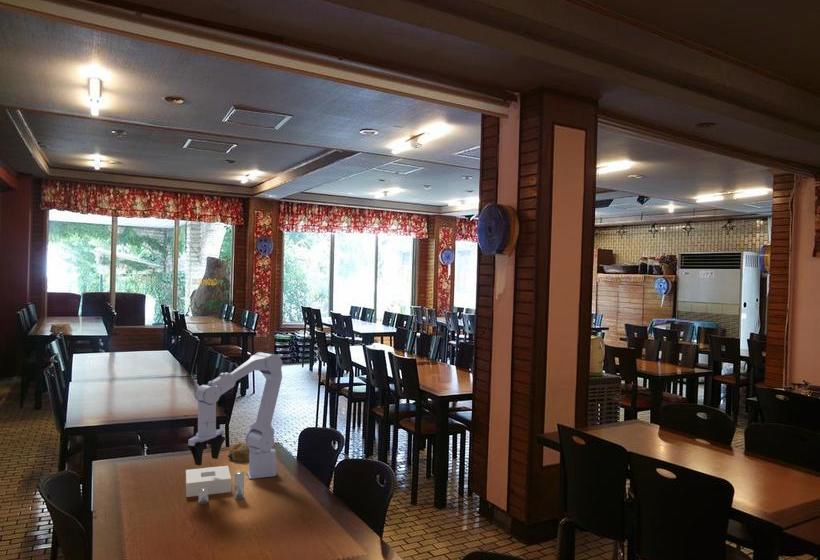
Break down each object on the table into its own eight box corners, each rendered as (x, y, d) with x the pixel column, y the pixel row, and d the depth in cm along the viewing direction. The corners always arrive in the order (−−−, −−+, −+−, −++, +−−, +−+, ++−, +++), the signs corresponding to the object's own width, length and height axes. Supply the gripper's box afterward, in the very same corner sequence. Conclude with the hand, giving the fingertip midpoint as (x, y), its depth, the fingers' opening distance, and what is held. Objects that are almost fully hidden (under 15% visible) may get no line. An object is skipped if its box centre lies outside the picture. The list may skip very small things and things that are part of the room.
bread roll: (246, 471, 226) (255, 453, 226) (222, 459, 227) (231, 441, 226) (253, 463, 236) (262, 445, 236) (230, 452, 237) (239, 434, 236)
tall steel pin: (243, 495, 193) (243, 471, 192) (244, 498, 190) (244, 474, 190) (233, 496, 191) (234, 472, 191) (234, 499, 189) (234, 475, 189)
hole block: (227, 478, 208) (227, 465, 208) (231, 491, 195) (231, 478, 195) (185, 482, 203) (185, 469, 203) (186, 497, 190) (186, 483, 190)
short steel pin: (208, 499, 188) (208, 487, 188) (208, 503, 186) (208, 490, 186) (198, 501, 187) (198, 488, 187) (198, 504, 185) (198, 491, 185)
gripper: (213, 415, 205) (213, 453, 205) (181, 424, 191) (181, 466, 192) (229, 417, 202) (228, 456, 202) (197, 427, 188) (197, 469, 189)
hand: (206, 461), depth 196 cm, fingers open, 7 cm apart
